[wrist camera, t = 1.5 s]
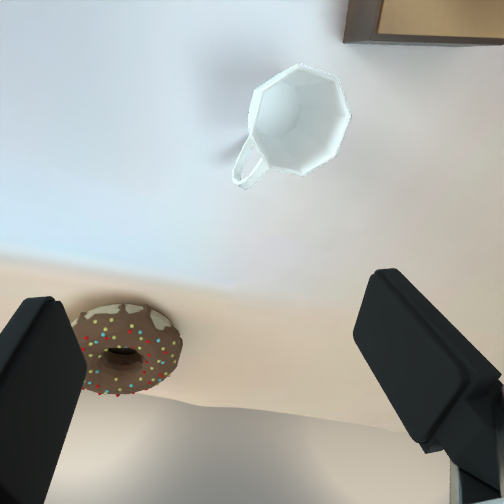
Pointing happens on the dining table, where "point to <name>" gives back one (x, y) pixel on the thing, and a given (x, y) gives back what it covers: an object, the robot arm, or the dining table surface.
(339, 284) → the dining table surface
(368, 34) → the block
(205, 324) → the dining table surface
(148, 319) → the donut
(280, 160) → the cup
